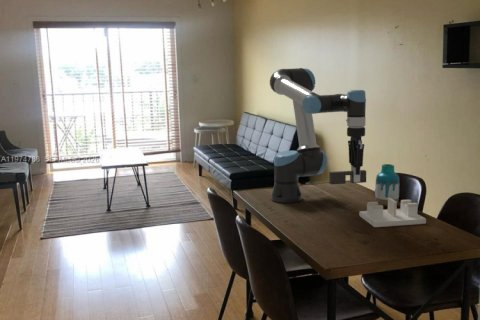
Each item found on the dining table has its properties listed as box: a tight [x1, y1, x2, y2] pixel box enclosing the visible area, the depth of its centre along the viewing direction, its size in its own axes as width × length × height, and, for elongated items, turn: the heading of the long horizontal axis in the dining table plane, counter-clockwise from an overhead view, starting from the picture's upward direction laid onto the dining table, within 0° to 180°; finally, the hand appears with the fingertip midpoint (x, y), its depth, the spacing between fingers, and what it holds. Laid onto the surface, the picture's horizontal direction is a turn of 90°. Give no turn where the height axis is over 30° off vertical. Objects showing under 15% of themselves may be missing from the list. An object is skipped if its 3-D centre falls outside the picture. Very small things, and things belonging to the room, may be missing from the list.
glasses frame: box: [328, 169, 367, 185], centre depth 214 cm, size 2×16×5 cm, turn 97°
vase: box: [374, 163, 400, 207], centre depth 228 cm, size 11×11×19 cm
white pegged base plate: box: [358, 198, 427, 228], centre depth 209 cm, size 16×22×8 cm
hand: (355, 181), depth 215 cm, fingers closed on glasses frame, 2 cm apart
